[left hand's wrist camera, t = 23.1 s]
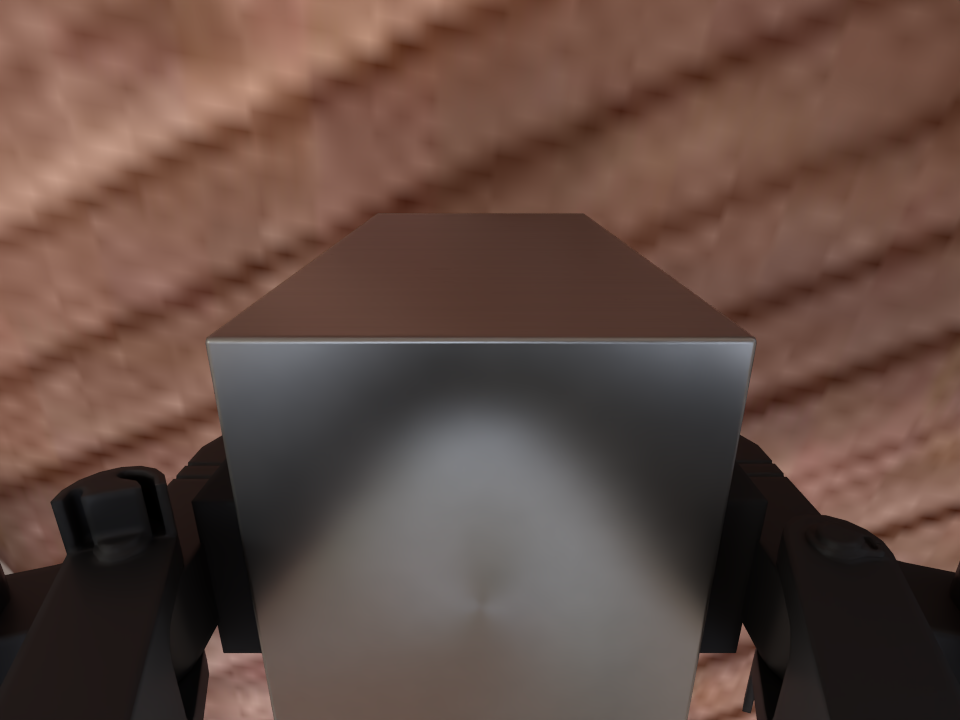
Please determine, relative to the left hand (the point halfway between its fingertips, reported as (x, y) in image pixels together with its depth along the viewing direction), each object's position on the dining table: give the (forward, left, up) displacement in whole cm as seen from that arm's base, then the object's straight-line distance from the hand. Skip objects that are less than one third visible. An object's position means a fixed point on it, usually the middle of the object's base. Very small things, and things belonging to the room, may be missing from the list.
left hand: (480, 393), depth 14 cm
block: (0, 0, -5) cm, 5 cm away
